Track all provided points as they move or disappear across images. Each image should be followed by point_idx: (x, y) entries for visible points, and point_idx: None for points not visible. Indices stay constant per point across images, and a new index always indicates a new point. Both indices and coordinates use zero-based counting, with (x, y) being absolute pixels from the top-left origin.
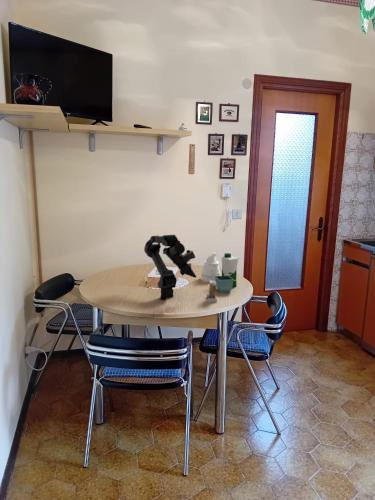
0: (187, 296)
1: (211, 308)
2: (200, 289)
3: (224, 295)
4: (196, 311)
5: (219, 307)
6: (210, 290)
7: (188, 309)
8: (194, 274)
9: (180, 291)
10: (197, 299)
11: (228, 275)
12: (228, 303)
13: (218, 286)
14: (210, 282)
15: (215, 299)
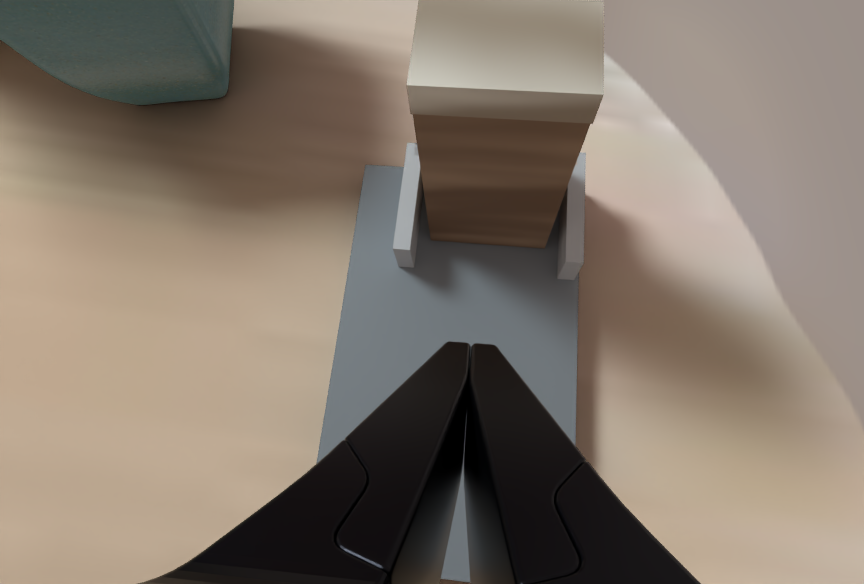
0: (249, 502)
1: (721, 268)
2: (7, 285)
3: (283, 72)
4: (858, 466)
5: (678, 180)
6: (569, 173)
7: (795, 569)
8: (529, 401)
9: (6, 578)
10: None
11: None
12: None
13: (186, 58)
14: (556, 88)
15: (584, 175)
